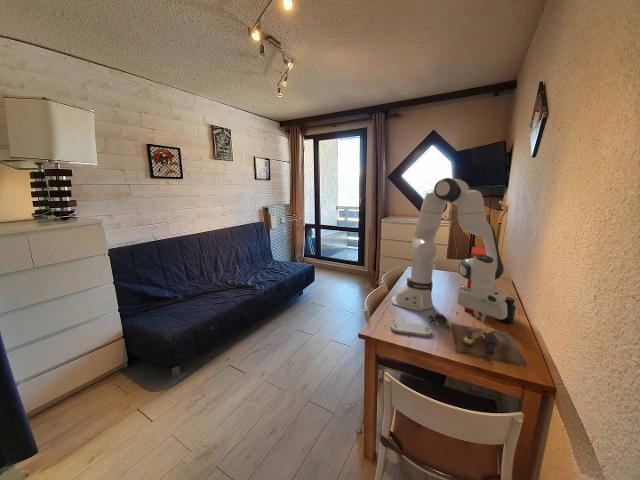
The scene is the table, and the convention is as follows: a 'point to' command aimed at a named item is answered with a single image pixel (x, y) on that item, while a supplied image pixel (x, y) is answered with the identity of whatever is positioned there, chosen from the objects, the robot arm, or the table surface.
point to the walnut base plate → (502, 352)
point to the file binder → (474, 253)
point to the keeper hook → (490, 342)
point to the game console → (411, 328)
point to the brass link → (476, 336)
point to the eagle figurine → (439, 320)
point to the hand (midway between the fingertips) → (479, 320)
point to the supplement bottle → (509, 311)
